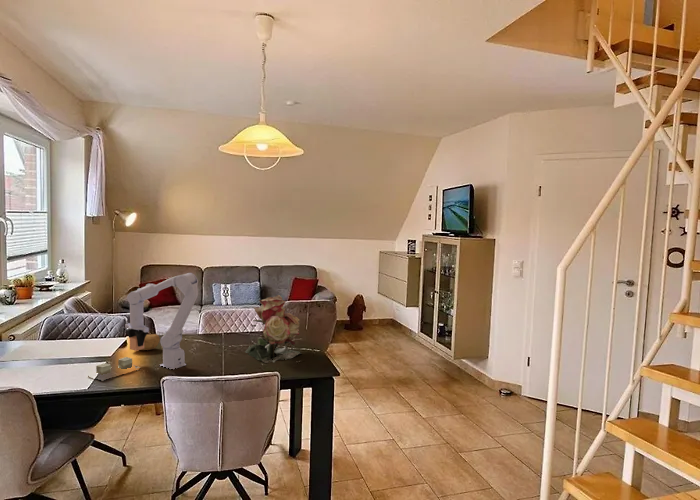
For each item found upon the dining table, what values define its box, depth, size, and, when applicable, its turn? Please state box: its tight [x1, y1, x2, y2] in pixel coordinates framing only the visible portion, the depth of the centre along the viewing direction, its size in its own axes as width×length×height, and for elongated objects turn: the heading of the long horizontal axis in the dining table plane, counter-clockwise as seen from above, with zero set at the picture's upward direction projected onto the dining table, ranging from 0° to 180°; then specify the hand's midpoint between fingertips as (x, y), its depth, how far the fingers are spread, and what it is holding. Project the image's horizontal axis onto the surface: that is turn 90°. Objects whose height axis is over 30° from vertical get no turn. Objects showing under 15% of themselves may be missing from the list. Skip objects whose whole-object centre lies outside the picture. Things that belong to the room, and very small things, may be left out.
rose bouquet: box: [244, 294, 302, 364], centre depth 228 cm, size 26×29×30 cm
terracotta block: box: [129, 336, 144, 352], centre depth 208 cm, size 4×4×6 cm
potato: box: [140, 333, 161, 351], centre depth 229 cm, size 10×14×8 cm
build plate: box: [95, 356, 141, 375], centre depth 196 cm, size 10×18×5 cm, turn 151°
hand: (137, 345), depth 208 cm, fingers closed on terracotta block, 4 cm apart
